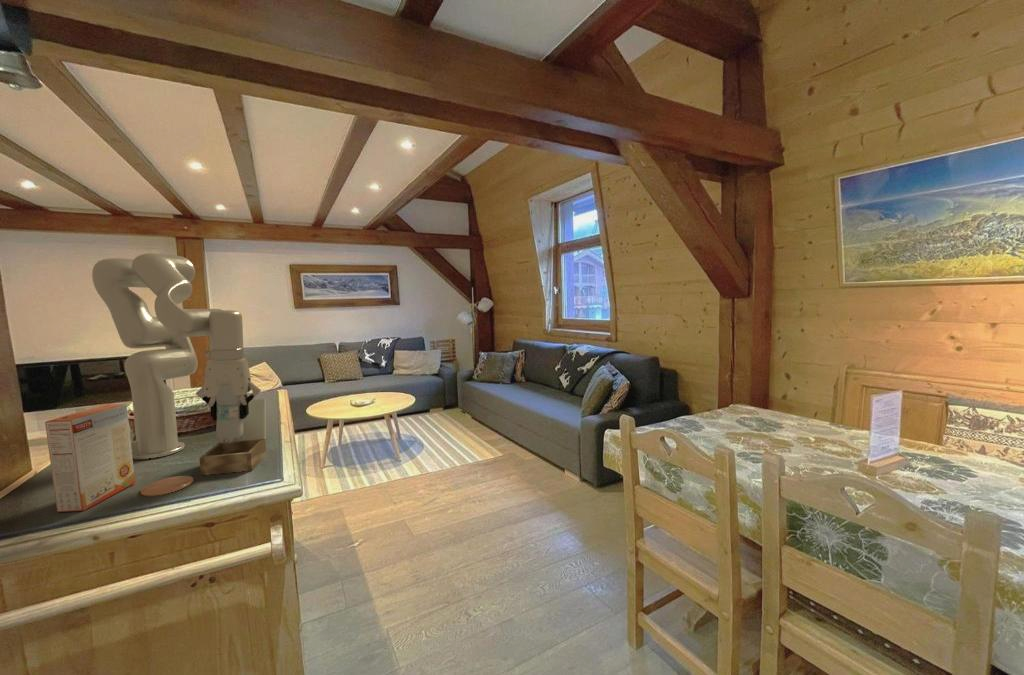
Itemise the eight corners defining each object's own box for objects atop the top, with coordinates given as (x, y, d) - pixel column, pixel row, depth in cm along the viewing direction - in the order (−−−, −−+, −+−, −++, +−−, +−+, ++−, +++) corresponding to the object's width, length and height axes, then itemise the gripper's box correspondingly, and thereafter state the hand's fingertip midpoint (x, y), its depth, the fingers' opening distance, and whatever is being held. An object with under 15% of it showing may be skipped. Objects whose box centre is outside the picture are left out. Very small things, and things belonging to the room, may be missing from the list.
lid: (219, 459, 118) (215, 403, 117) (225, 455, 122) (221, 400, 120) (265, 455, 121) (262, 400, 120) (269, 450, 125) (266, 397, 124)
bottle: (229, 446, 110) (228, 373, 108) (208, 443, 111) (208, 371, 109) (249, 438, 116) (249, 369, 115) (230, 435, 118) (229, 367, 116)
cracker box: (111, 484, 102) (103, 403, 100) (136, 483, 103) (129, 403, 101) (53, 513, 88) (43, 420, 87) (83, 512, 89) (73, 419, 87)
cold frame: (200, 476, 107) (199, 457, 107) (220, 459, 119) (219, 442, 118) (252, 470, 110) (250, 453, 110) (266, 454, 122) (265, 438, 121)
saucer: (130, 498, 95) (130, 496, 95) (155, 480, 104) (155, 478, 104) (181, 493, 97) (180, 490, 97) (200, 476, 107) (200, 473, 107)
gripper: (183, 357, 106) (187, 424, 108) (258, 356, 110) (260, 420, 112) (197, 353, 113) (200, 416, 115) (266, 352, 118) (269, 413, 119)
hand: (230, 417), depth 113 cm, fingers closed on bottle, 6 cm apart
